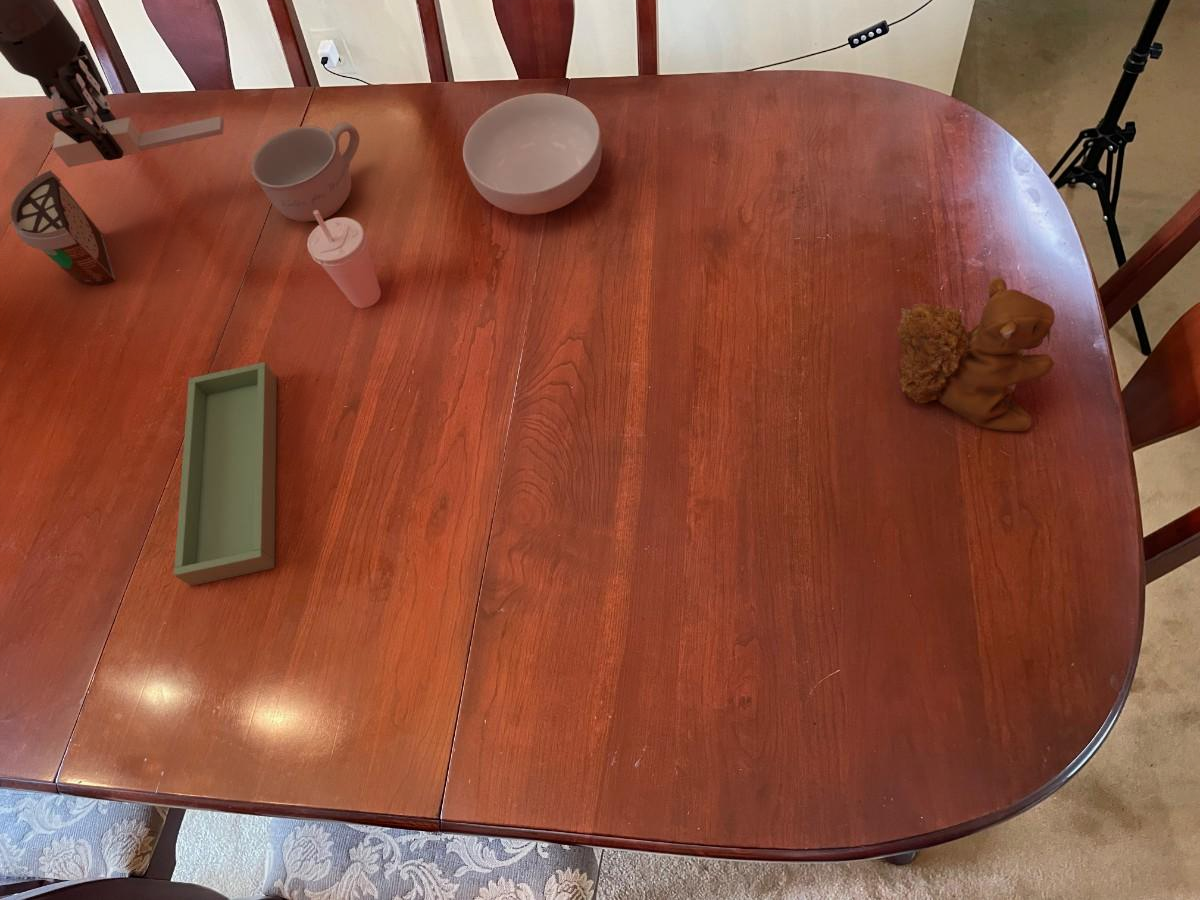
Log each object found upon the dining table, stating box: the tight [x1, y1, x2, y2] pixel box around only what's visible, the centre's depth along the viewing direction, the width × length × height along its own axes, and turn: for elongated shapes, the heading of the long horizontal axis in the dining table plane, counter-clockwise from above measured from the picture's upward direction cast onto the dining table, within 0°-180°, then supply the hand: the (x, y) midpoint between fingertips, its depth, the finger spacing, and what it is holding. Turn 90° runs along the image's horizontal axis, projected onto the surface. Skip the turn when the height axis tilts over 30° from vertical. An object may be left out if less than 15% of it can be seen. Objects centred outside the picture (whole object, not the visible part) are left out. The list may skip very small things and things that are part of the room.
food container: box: [9, 169, 116, 286], centre depth 104 cm, size 12×6×10 cm, turn 27°
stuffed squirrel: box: [896, 277, 1056, 433], centre depth 80 cm, size 10×14×13 cm
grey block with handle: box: [52, 115, 225, 168], centre depth 102 cm, size 19×3×3 cm, turn 101°
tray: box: [173, 361, 278, 587], centre depth 89 cm, size 24×9×3 cm, turn 10°
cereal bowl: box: [462, 92, 603, 215], centre depth 103 cm, size 17×17×7 cm
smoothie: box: [306, 210, 382, 309], centre depth 94 cm, size 6×6×14 cm
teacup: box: [250, 121, 360, 222], centre depth 106 cm, size 14×11×8 cm
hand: (116, 147), depth 102 cm, fingers closed on grey block with handle, 3 cm apart
